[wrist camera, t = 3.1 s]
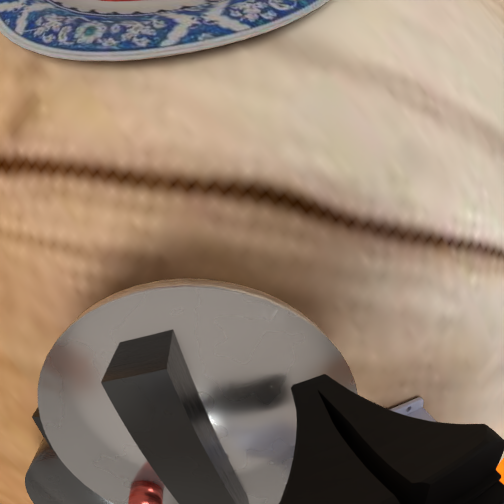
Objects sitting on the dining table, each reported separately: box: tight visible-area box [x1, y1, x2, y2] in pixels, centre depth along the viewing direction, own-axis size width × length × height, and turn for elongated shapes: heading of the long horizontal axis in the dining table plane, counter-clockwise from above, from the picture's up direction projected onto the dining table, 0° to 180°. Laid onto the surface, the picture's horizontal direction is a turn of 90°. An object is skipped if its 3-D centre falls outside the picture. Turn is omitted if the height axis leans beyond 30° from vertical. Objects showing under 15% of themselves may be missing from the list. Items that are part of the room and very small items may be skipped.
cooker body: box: [25, 408, 113, 504], centre depth 17 cm, size 16×18×5 cm
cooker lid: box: [38, 278, 357, 504], centre depth 11 cm, size 16×14×4 cm
